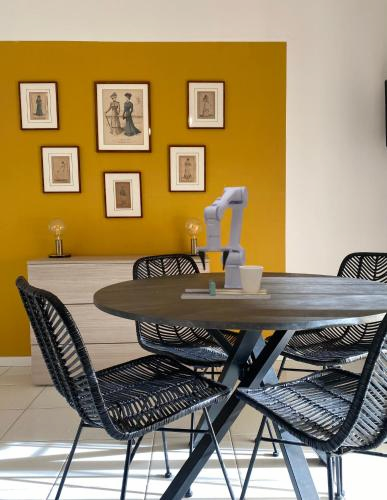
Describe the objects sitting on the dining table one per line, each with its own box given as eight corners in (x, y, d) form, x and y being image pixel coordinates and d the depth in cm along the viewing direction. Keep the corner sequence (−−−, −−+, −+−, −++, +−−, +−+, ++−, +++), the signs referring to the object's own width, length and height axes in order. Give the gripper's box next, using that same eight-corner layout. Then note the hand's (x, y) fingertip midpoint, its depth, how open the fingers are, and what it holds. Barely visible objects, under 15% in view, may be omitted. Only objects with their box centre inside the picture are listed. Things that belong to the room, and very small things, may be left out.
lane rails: (185, 291, 210) (185, 278, 209) (267, 291, 207) (267, 277, 207) (181, 299, 193) (180, 284, 192) (270, 299, 190) (270, 284, 190)
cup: (266, 293, 204) (266, 266, 203) (259, 297, 195) (260, 268, 194) (242, 291, 208) (243, 265, 207) (235, 295, 199) (235, 267, 198)
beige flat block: (210, 291, 208) (210, 278, 208) (265, 291, 206) (265, 278, 206) (208, 296, 197) (208, 282, 197) (267, 296, 195) (266, 282, 195)
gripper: (194, 236, 197) (195, 271, 198) (231, 236, 196) (232, 271, 197) (196, 236, 204) (196, 269, 205) (231, 235, 203) (232, 269, 204)
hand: (214, 270), depth 202 cm, fingers open, 7 cm apart
